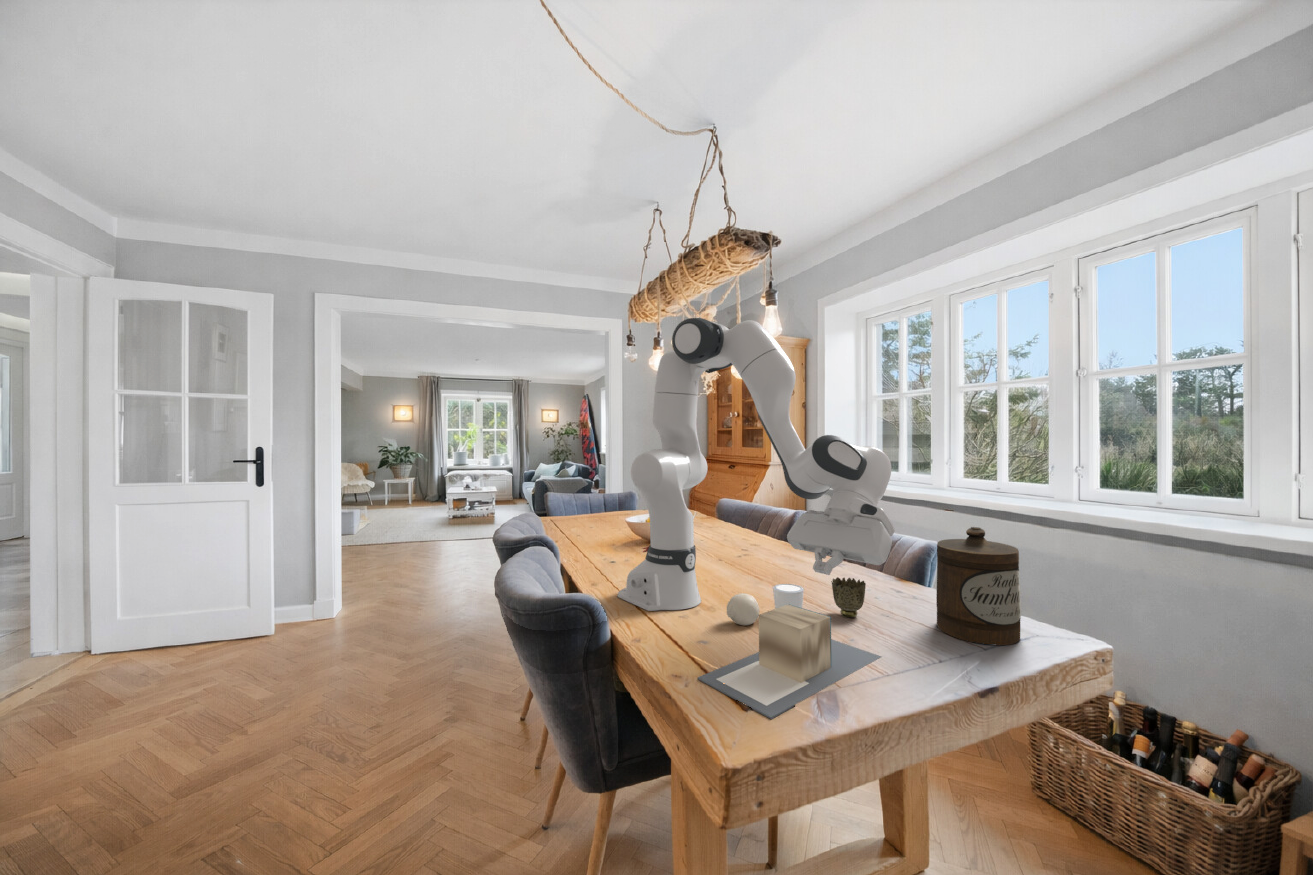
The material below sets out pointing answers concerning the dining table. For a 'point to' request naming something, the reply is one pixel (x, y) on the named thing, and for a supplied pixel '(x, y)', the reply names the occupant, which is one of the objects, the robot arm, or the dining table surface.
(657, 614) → the dining table surface
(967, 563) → the wooden container
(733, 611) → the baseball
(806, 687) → the charcoal mat
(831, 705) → the dining table surface
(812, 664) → the maple cube
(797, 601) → the white cylindrical piece
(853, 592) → the cup
